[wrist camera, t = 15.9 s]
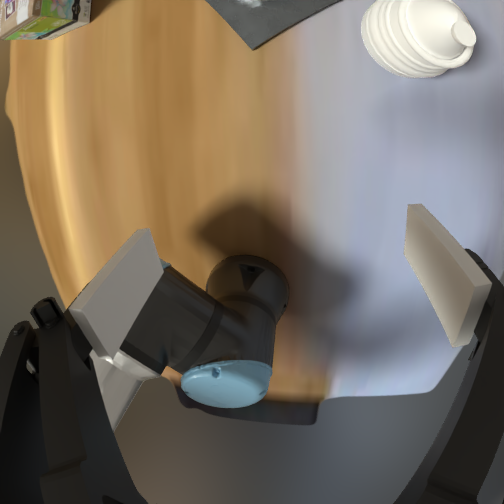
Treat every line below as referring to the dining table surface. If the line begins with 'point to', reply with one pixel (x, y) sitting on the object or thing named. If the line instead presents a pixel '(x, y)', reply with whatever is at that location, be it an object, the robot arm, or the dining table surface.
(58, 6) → the tea box
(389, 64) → the honey pot
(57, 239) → the dining table surface
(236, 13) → the duct flange
